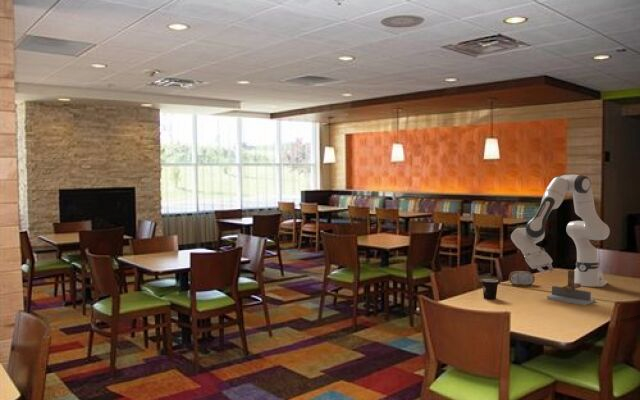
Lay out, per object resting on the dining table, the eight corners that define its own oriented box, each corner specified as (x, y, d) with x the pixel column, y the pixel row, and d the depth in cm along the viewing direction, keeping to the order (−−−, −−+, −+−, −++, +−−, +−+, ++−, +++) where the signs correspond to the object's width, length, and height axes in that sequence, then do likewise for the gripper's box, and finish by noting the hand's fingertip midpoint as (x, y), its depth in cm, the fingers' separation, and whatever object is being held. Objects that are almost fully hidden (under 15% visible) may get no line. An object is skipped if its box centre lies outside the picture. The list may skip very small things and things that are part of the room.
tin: (533, 284, 329) (533, 271, 328) (535, 285, 326) (535, 272, 325) (508, 284, 330) (508, 270, 330) (509, 285, 327) (509, 271, 327)
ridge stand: (558, 295, 300) (558, 284, 299) (595, 301, 284) (595, 290, 284) (547, 298, 291) (547, 287, 291) (584, 305, 276) (584, 294, 276)
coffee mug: (499, 300, 288) (499, 282, 287) (482, 299, 290) (482, 281, 289) (496, 295, 299) (496, 278, 299) (480, 295, 301) (480, 277, 300)
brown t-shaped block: (576, 286, 294) (576, 268, 294) (580, 287, 293) (581, 269, 292) (560, 291, 283) (561, 272, 282) (565, 291, 281) (565, 273, 280)
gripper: (526, 251, 296) (543, 270, 289) (544, 247, 309) (561, 266, 302) (519, 258, 300) (535, 277, 293) (537, 254, 313) (553, 272, 306)
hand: (548, 271), depth 298 cm, fingers open, 8 cm apart
